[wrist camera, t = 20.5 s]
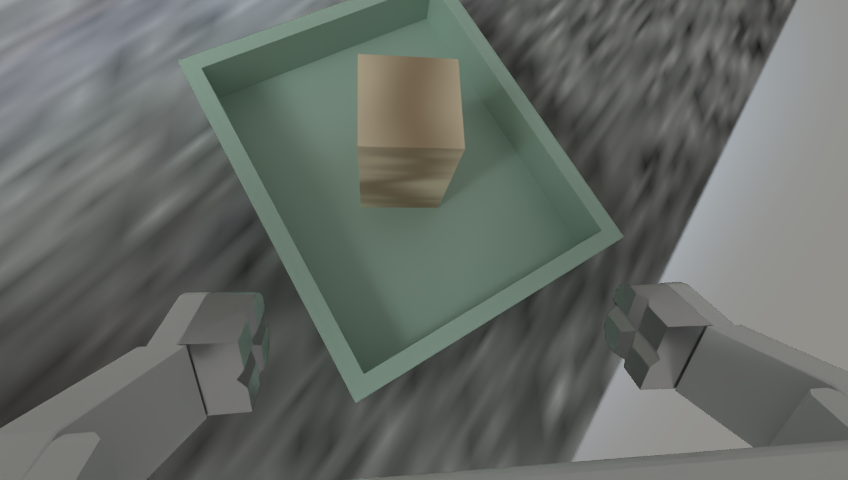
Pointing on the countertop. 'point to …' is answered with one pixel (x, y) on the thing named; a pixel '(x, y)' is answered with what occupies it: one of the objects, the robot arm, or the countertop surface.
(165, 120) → the countertop surface
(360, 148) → the maple block
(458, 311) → the tray
